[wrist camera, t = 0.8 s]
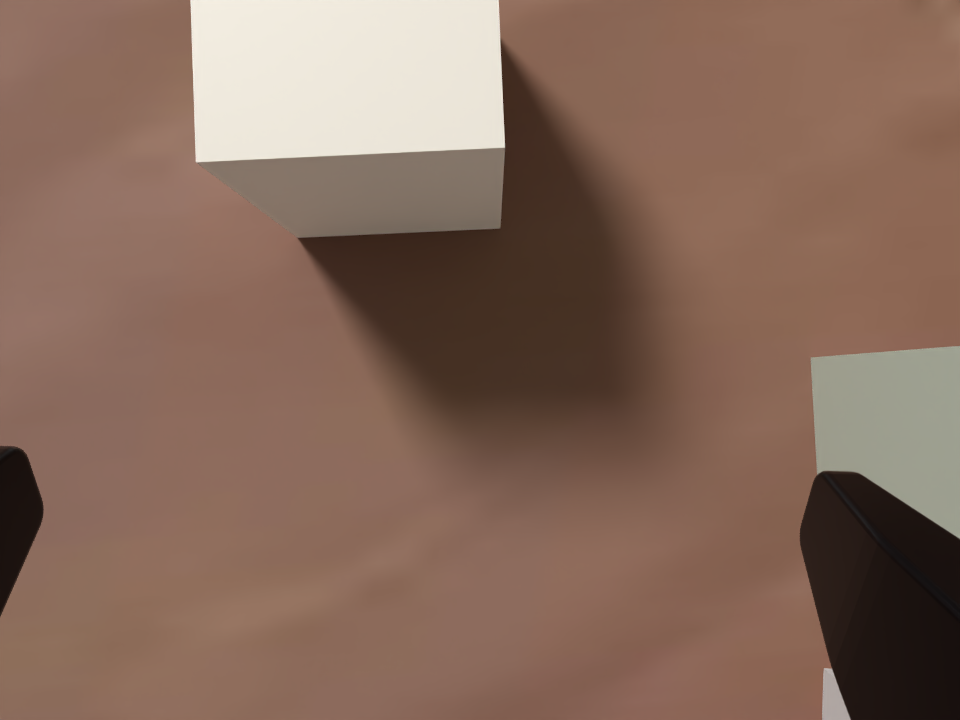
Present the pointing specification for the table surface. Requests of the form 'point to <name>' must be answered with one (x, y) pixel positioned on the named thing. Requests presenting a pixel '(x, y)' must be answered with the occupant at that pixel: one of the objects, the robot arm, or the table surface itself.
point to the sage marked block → (894, 424)
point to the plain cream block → (353, 111)
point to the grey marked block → (832, 699)
